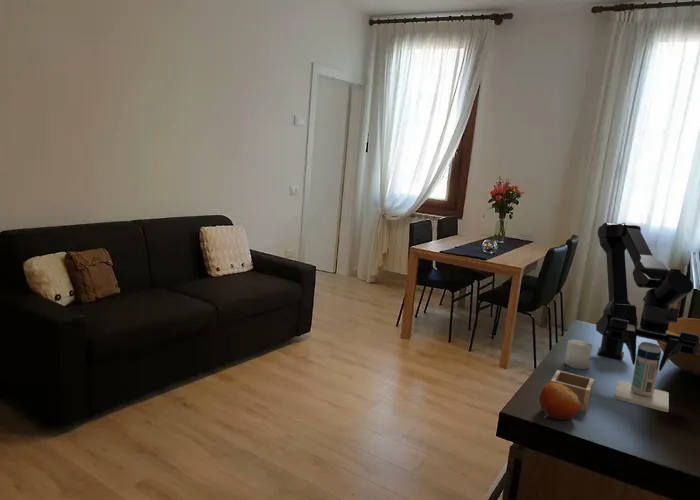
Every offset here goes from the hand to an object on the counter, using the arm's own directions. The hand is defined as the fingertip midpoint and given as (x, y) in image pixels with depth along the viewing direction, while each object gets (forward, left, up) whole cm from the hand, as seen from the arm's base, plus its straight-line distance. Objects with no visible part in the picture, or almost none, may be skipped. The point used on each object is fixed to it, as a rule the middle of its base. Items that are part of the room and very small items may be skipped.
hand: (646, 367), depth 125 cm
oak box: (+13, -14, -8) cm, 20 cm away
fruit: (+23, -15, -8) cm, 28 cm away
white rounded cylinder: (-13, -16, -8) cm, 22 cm away
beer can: (-1, 0, -7) cm, 7 cm away
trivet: (-1, 0, -8) cm, 8 cm away
